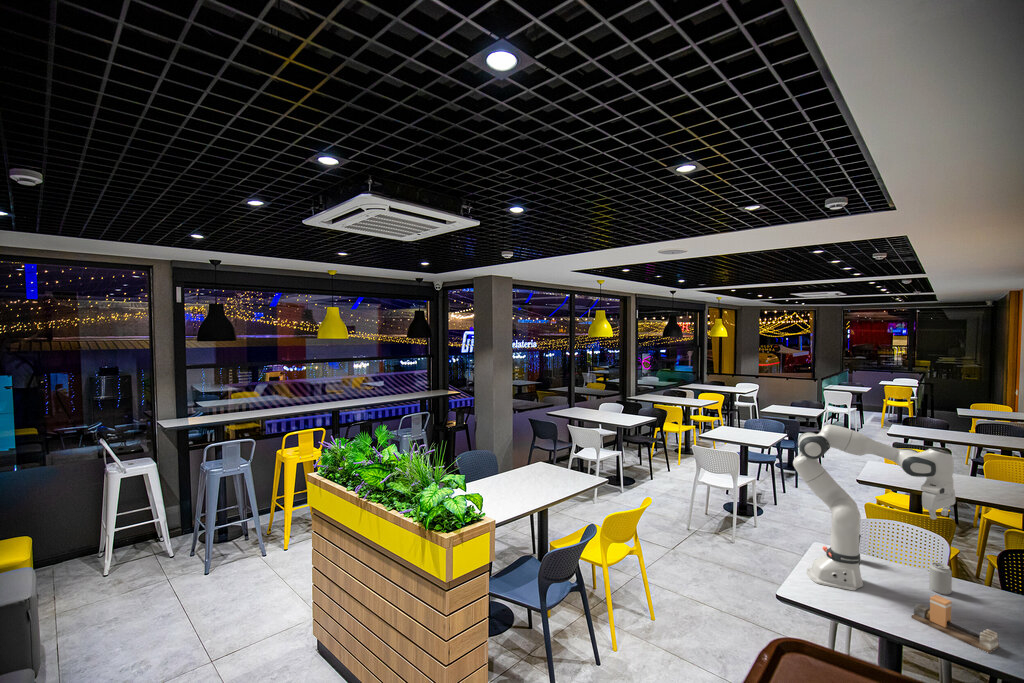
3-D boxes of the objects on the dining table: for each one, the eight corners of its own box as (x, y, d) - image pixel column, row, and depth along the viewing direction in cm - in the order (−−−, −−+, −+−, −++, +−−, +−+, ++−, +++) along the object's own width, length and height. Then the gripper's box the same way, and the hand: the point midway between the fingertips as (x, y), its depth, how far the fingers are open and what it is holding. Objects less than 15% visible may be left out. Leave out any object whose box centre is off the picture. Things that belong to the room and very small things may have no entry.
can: (942, 587, 218) (942, 561, 218) (956, 596, 211) (956, 569, 210) (925, 586, 219) (925, 560, 218) (937, 595, 211) (938, 568, 211)
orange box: (929, 620, 191) (929, 597, 190) (935, 617, 193) (935, 594, 192) (945, 627, 186) (945, 603, 186) (951, 624, 188) (951, 600, 188)
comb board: (911, 617, 195) (911, 604, 195) (921, 612, 198) (921, 599, 198) (988, 653, 173) (989, 638, 173) (999, 647, 176) (999, 632, 176)
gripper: (942, 480, 214) (942, 510, 215) (918, 487, 206) (918, 518, 206) (960, 484, 209) (959, 515, 209) (936, 491, 200) (935, 523, 200)
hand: (938, 517), depth 207 cm, fingers open, 8 cm apart
